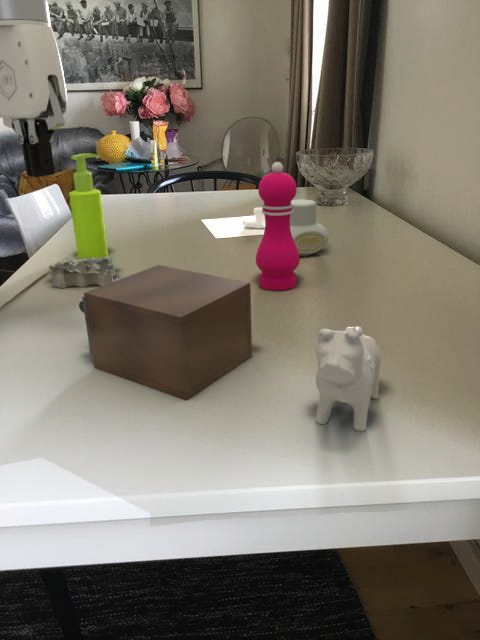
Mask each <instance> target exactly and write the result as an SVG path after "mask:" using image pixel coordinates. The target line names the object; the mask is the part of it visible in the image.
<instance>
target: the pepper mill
mask: <svg viewBox="0 0 480 640" xmlns="http://www.w3.org/2000/svg"><path fill="white" fill-rule="evenodd" d="M283 170H284V166H283V164H282V162H279V161H275V162H274V163H273V164H272V165H271V171H272V172H270V173H267V174H265V175H264V176H263V177H262V178H261V180H260V181H259V184H258V187H257V188H258V189H257V192H258V196H259V198H260V199H261V200H262V201H263V203H262V204H261V207H262V208H263V210H262V213H263V214H264V215H265V231H264V234H263V235H262V237H261V240H260V243H259V245H258V247H257V250H256V251H257V252H256V254H255V264H256V266H257V268H258V269H259V270H260V271H261V272H260V273H259V275H258V285H259V287H260V288H261V289H264V290H267V291H274V292H276V291H278V292H279V291H287V290H290V289H291V290H292V289H294V288H295V287H296V286H297V277H298V276H297V274H296V272H295V270H297V268H298V267H299V265H300V261H301V260H300V256H299V252H298V248H297V246H296V244H295V242H294V240H293V237H292V234H291V230H290V215H291V213H293V208H292V207H293V204H292V203H291V201H292V200H294V199H295V197H296V196H297V189H298V188H297V187H298V186H297V183H296V180H295V179H294V177H293V176H291V175H290V174H288V173H286V172H283Z"/></svg>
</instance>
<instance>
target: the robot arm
mask: <svg viewBox="0 0 480 640" xmlns="http://www.w3.org/2000/svg"><path fill="white" fill-rule="evenodd" d="M64 75H65V74H64V69H63V63H62V60H61V55H60V50H59V47H58V43H57V39H56V36H55V33H54V29H53V27H52V24H51V17H50V10H49V3H48V0H0V119H2V124H3V125H4V126H5V127H7V128H9V129H12V130H13V131H14V132H15V134H16V139H17V141H18V143H19V144H20V145H21V151H22V155H23V162H24V167H25V174H26V176H27V177H30V178H32V177H33V178H40V177H48V176H53V175H54V174H55V173H56V170H55V163H54V156H53V148H52V143H53V142H54V134H55V131H56V130H57V129H60V128H62V127H63V128H64V126H65V124H66V121H65V118H64V115H65V113H66V112H67V111H68V94H67V88H66V80H65V76H64Z"/></svg>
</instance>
